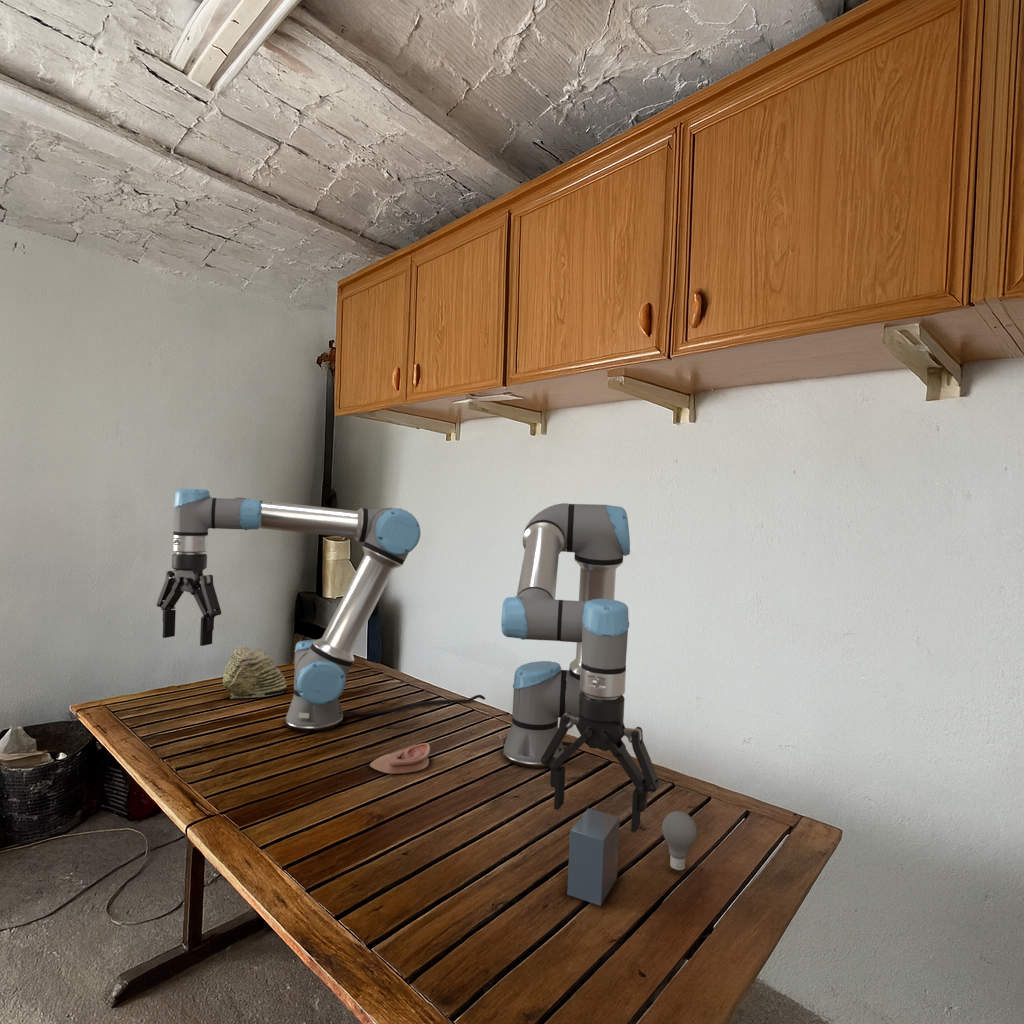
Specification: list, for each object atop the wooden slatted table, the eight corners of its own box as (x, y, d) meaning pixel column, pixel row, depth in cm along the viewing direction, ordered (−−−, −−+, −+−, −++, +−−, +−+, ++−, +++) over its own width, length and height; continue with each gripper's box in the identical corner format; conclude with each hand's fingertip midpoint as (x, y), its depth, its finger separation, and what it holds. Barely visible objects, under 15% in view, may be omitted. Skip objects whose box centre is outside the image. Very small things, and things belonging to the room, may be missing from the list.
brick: (585, 868, 112) (588, 808, 112) (617, 878, 109) (619, 816, 109) (567, 894, 104) (569, 830, 104) (600, 906, 101) (603, 840, 101)
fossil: (218, 695, 195) (220, 647, 195) (278, 685, 208) (279, 640, 207) (228, 703, 189) (230, 653, 188) (289, 692, 201) (290, 645, 201)
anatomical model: (364, 753, 147) (384, 735, 158) (364, 770, 147) (383, 751, 158) (419, 760, 144) (435, 742, 155) (418, 778, 144) (434, 758, 156)
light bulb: (655, 859, 115) (658, 804, 115) (687, 858, 116) (690, 804, 116) (666, 878, 109) (669, 821, 109) (700, 878, 110) (702, 821, 110)
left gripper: (142, 549, 154) (139, 636, 155) (211, 557, 143) (208, 651, 144) (170, 548, 161) (168, 631, 161) (239, 556, 150) (236, 645, 150)
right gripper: (525, 685, 108) (520, 806, 109) (671, 715, 97) (664, 849, 98) (543, 674, 115) (538, 788, 116) (682, 700, 104) (675, 827, 105)
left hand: (187, 640), depth 153 cm, fingers open, 13 cm apart
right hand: (596, 817), depth 107 cm, fingers open, 13 cm apart
